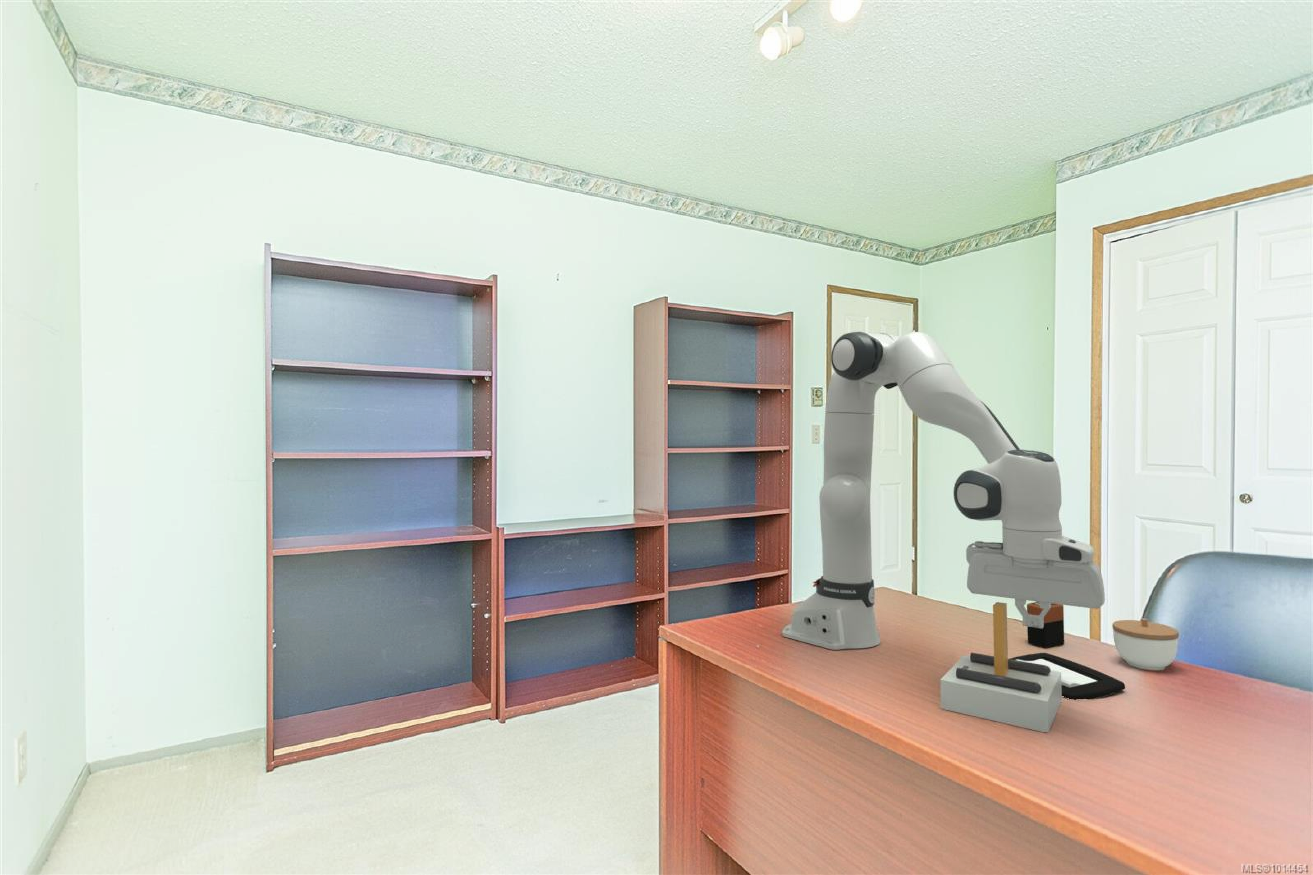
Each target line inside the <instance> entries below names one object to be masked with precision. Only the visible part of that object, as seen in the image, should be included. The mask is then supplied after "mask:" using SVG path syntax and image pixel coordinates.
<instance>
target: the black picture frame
mask: <svg viewBox="0 0 1313 875" xmlns="http://www.w3.org/2000/svg"><path fill="white" fill-rule="evenodd" d="M1009 659H1012V660H1017V661H1023V662H1029V663H1035V664H1041V665H1046V666H1048V667H1049V668H1050V670H1052V671H1058V672H1061V686H1062V696H1064V697H1066V698H1069V699H1068V700H1070V699H1074V700H1073V701H1077V700H1076V699H1087V700H1096V699H1099V698H1105V697H1107V696H1108V697H1109V696H1111V695H1114V694H1117V693H1118V692H1121V691H1123V690H1125V689H1126V684H1125V682H1123V681H1121V680H1119V679H1117V678H1115V677H1113V676H1111V675H1108V674H1105V672H1104V673H1103V672H1101V671H1098V670H1096V669H1094V668H1091V667H1088V666H1086V665H1084V664H1080V663H1078V662H1076V661H1073V660H1071V659H1070V660H1069V659H1067V658H1064V657H1060V656H1057V655H1054V654H1051V653H1049V652H1036V653H1030V654H1028V653H1027V654H1024V655H1020V656H1019V655H1018V656H1015V657H1014V656H1013V657H1011V658H1009ZM1064 697H1063V698H1064ZM1066 698H1065V699H1066ZM1095 698H1096V699H1095Z"/></svg>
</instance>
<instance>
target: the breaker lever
mask: <svg viewBox="0 0 1313 875" xmlns="http://www.w3.org/2000/svg"><path fill="white" fill-rule="evenodd" d="M1007 607H1008V605H1007V602H1000V601H996V602H995V603H994V604H993V605H992V617H993V618H992V619H993V622H992V623H993V624H992V626H993V656H994V675H1000V676H1005V675H1006V674H1007V673H1008V659H1009V652H1008V651H1009V650H1008V648H1009V647H1008V646H1009V645H1008V644H1009V643H1008V641H1009V640H1008V608H1007Z"/></svg>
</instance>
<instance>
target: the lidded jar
mask: <svg viewBox="0 0 1313 875" xmlns="http://www.w3.org/2000/svg"><path fill="white" fill-rule="evenodd" d="M1140 619H1141V620H1136V619H1135V620H1134V619H1122V620H1116V621H1113V622H1112V624H1111V625H1112V632H1113V636H1112V637H1113V641H1114V646H1115V649H1116V650H1117V652H1118V655H1120V656H1121V657H1122V658H1123V660H1124V661H1126V664H1127V665H1129V666H1131V667H1133V668H1137V669H1140V670H1147V671H1155V672H1157V671H1163V670H1165V669H1166V667H1169V665H1170V664H1172V663H1173V661H1174V660H1175V659H1176V656H1177V654H1178V648H1179V637H1180V636H1179V635H1180V634H1179V631H1178V630H1177V629H1176V628H1174V627H1172V626H1169V625H1167V624H1163V623H1162V624H1161V623H1159V622H1155V621H1154V622H1152V621H1148V618H1140Z"/></svg>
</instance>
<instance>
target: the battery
mask: <svg viewBox="0 0 1313 875" xmlns="http://www.w3.org/2000/svg"><path fill="white" fill-rule="evenodd" d="M1043 609H1044V608H1043ZM1043 609H1042V608H1040V602H1037V601H1033V602H1030V603H1026V610H1027V612H1028V614H1031V615H1040V614H1041V612H1042V611H1043ZM1064 609H1065V608H1064V605H1061V604H1053V603H1051V608H1050V609H1049V611H1048V612H1047V613H1046V615H1045V616H1044V627H1043V628H1035V627H1029V626H1026V628H1027V630H1026V631H1027V633H1026V634H1027V644H1029V645H1031V644H1032V645H1031V646H1035V647H1038V648H1041V647H1042V649H1048V648H1054V647H1058V646H1062V645H1064V644H1065V625H1064V624H1065V622H1064V621H1065V618H1064V616H1065V615H1064V614H1065V612H1064Z"/></svg>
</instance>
